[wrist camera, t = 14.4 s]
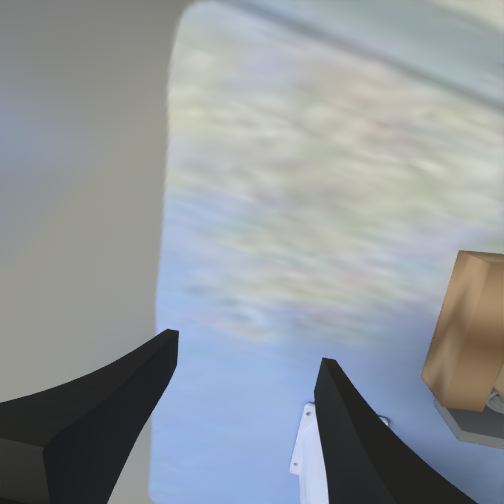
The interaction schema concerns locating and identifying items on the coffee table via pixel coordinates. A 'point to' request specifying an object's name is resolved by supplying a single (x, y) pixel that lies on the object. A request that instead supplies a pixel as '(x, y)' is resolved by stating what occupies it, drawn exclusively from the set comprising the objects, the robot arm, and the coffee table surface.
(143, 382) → the robot arm
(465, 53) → the coffee table surface
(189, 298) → the coffee table surface
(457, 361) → the brown wooden block
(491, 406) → the ceramic mug
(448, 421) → the frame
